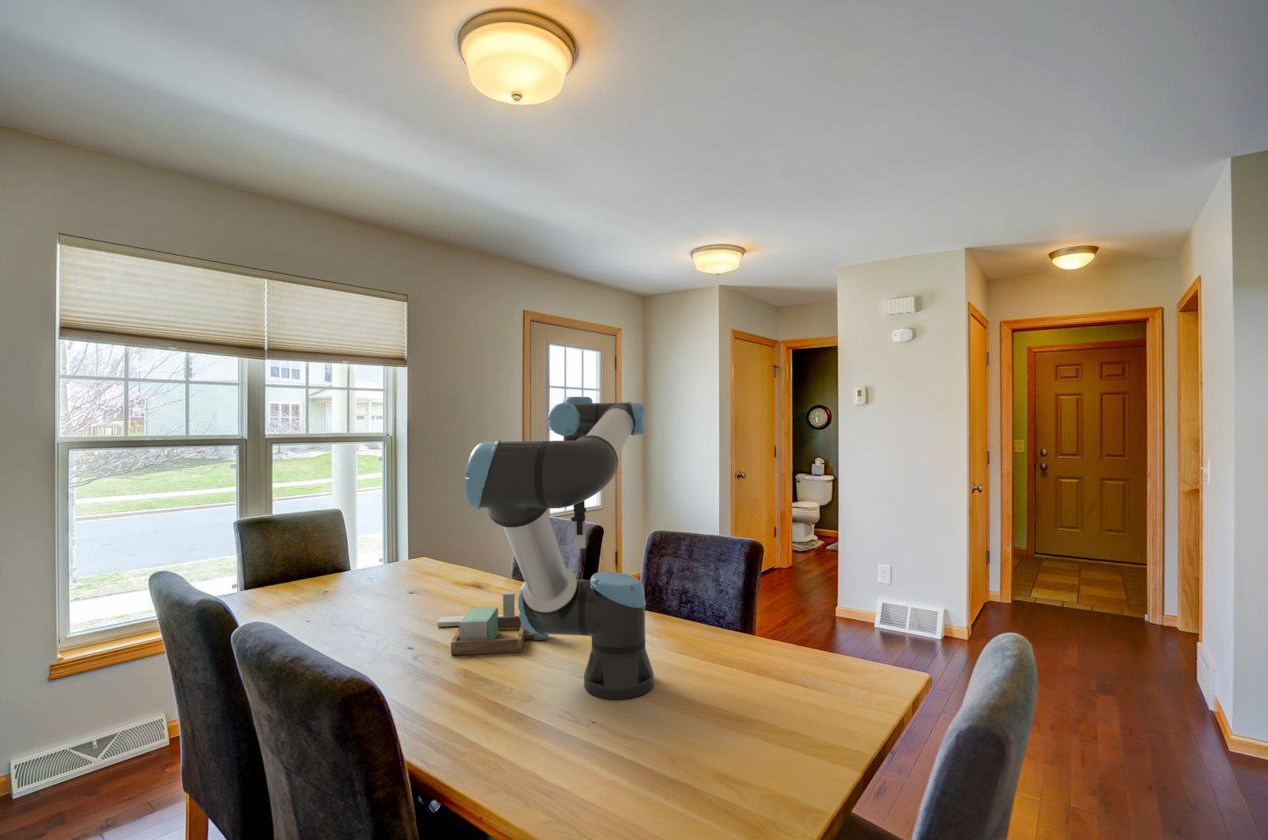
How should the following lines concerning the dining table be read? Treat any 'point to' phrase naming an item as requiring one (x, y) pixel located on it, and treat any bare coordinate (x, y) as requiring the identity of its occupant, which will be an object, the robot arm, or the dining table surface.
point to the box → (479, 624)
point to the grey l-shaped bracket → (507, 611)
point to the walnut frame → (496, 640)
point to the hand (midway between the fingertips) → (579, 542)
